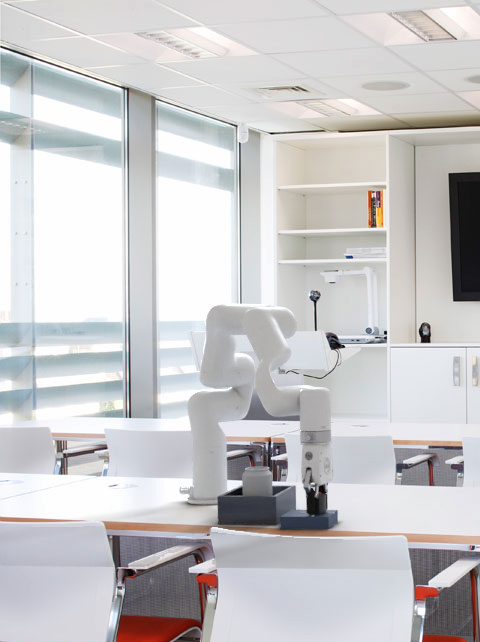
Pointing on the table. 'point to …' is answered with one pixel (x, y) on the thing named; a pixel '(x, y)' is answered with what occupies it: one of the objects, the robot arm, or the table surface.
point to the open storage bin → (255, 506)
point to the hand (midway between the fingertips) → (317, 511)
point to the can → (257, 481)
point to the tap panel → (308, 520)
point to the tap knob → (322, 503)
